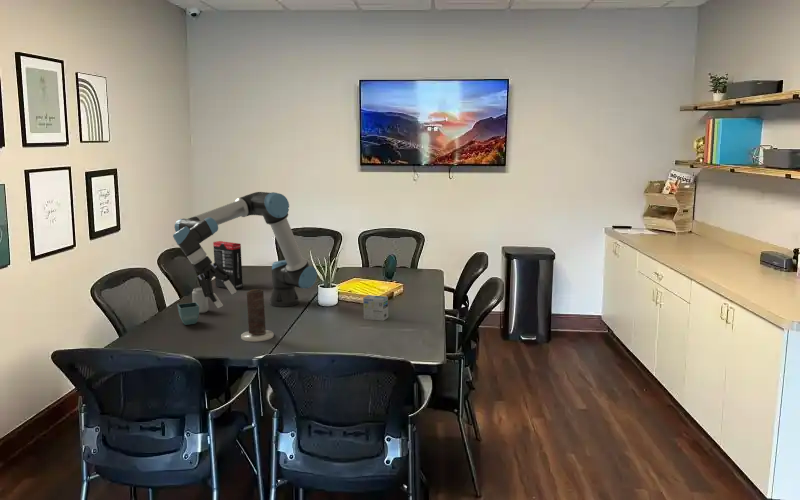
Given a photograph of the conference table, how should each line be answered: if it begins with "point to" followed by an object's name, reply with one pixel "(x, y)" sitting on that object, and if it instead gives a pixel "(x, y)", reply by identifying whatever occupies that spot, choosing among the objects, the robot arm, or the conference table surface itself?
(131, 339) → the conference table surface
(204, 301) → the can
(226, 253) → the graphics card box
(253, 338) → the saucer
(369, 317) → the light bulb box
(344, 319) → the conference table surface
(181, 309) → the flower pot
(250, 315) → the candle
